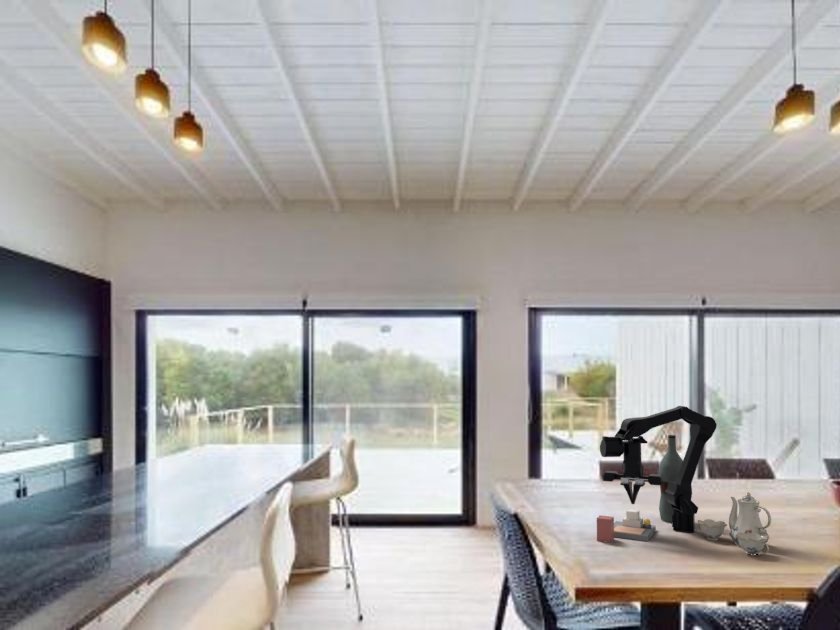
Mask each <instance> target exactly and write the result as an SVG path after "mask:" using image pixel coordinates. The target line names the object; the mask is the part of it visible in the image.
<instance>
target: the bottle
mask: <svg viewBox="0 0 840 630" xmlns="http://www.w3.org/2000/svg"><path fill="white" fill-rule="evenodd" d="M676 438H677V437H676V434H668V435H667V451H666V453H665V454H664V456H663V457H662V459H661V461H660V462H659V465H658V466H659V467H658V474H660V475H662V476H663V484H662V485H659V489H660V498H659V505H658V507H659V508H658V509H659V516H660V517H659V518H660V520H661V521H662V522H665V523H671V524H672V515H673V514H674V510H675V509H672V507H671V504H670V503H669V502H668V501H667V499H666V492H665V491H666V489H667V487H668V482H669V481H671V482H674V481H675V480H676V479H677V477H678V474H679V471H680V468H681V465H682V462H683V460H684V459H682V457H681V455H680V454H679V453H678V451H677V441H676V440H677V439H676Z"/></svg>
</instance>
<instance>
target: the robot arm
mask: <svg viewBox="0 0 840 630" xmlns="http://www.w3.org/2000/svg"><path fill="white" fill-rule="evenodd" d="M679 420H682V421H684V422H685V423H687V424H688V425H689V426H690V427H689V434H690V435H689V436H690V438H689V439H690V440H689V442H688V445H687V449H686V451H685V455H684V457H683V459H682V460H683V462H682V465H681V468H680V471H679V474H678V477H677V479H676V480H675V481H674V482H671V481H669V482H668V487H667V489H666V491H665V492H666V499H667V501H668V502H669V503H670V504H671V507H672V509H675V510H674V514H673V515H672V523H671V526H672V531H677V532H684V533H695V531H696V530H697V529H696V528H697V527H696V525H695V524H696V523H695V521H696V520H695V519H696V518H695V517H696V516H695V515H697V513H698V510H699V507H698V506H697V504H695V503H694V502H693V501H692V498H693V497H692V495H693V488H692V483H693V480H694V476H695V474H696V471H697V468H698V465H699V462H700V460H701V456H702V454H703V450H704V448H705V445H706V443H707V442H708V441H709V440H710V439H711V438H712V437H713V435H714V433H715V432H716V431H717V430H716V429H717V426H718V425H717V422H716V420H715V419H714V418H713V417H712V416H709V415H708V416H707V415H703V414H701V413H699V412H696V411H694V410H692V409H691V408H689V407H688V406H684V405H677V406H676V407H673V408H670V409H667V410H663V411H660V412H657V413H655V414H651V415H647V416H642V417H641V416H638V417H627V418H625V419H623V420H622V421H621V424H620V428H619V429H618V431H617V432H616V433H615V435H614V436H605V435H603V436H602V438H601V441H600V445H599V451H600V456H601V457H602V458H620V457H621V456H622V455H623V461H622V467H621V469H622V472H623V473H618V471H617V470H606V471H604V472H603V474H602V481H603V482H614V480H620V486H623V487H624V490H625V491H626V493H627V496H628V498H629V499H628V500H629V501H630V503H631V505H635V504H636V500H637V498H638V494H639V492H640V489H641V487H642V488H643V487H644V486H645V485H646V482H647V483H648V484H649V485H651V486H660V485H662V484H663V476H662V475H660V474H659V473H658V474H657V473H649V475H645V474H644V471H645V466H644V465H643V463H642V444H648V440H646V439H645V438H644V436H643V435H644V434H646V433H648V432H649V431H650V430H652V429H654V428H658V427H661V426H664V425H667V424H670V423H672V422H677V421H679ZM633 482H635V483H633Z"/></svg>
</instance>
